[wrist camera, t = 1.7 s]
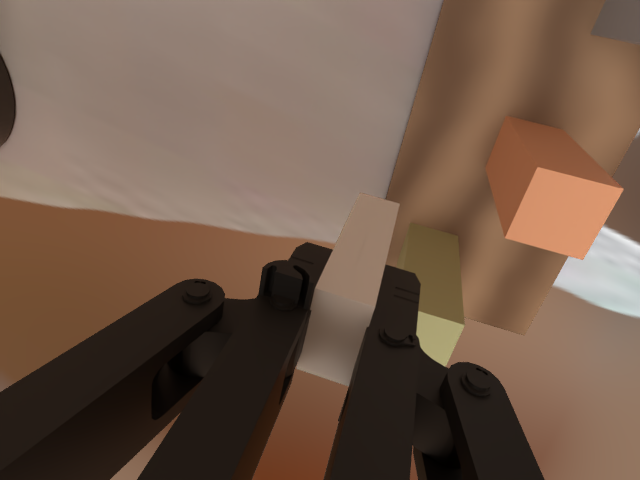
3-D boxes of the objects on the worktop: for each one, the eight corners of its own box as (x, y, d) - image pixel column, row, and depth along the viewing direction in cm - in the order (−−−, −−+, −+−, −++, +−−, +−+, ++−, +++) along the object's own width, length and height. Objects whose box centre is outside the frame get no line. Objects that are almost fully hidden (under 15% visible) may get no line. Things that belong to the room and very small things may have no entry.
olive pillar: (397, 262, 39) (381, 353, 29) (410, 222, 37) (398, 305, 27) (442, 275, 39) (442, 373, 28) (458, 235, 37) (464, 325, 26)
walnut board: (362, 279, 42) (360, 286, 41) (483, -137, 27) (485, -143, 26) (522, 327, 40) (524, 335, 39) (748, -88, 25) (761, -93, 24)
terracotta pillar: (485, 167, 34) (504, 238, 23) (506, 115, 32) (537, 166, 21) (538, 181, 33) (582, 259, 23) (563, 129, 31) (623, 189, 21)
